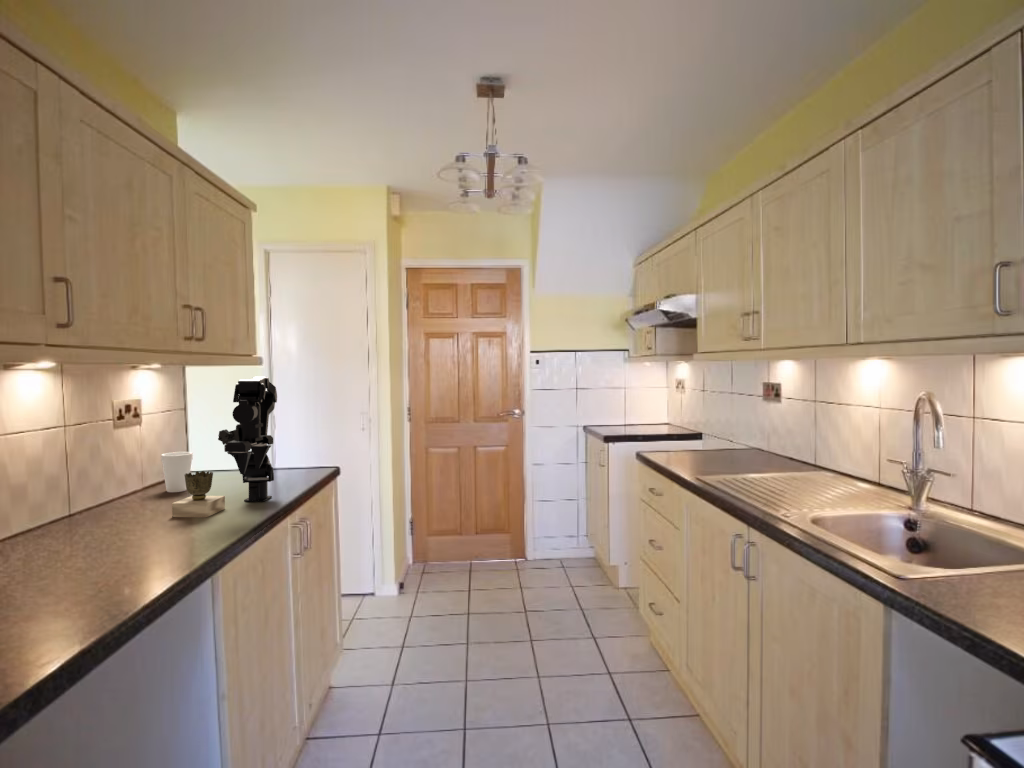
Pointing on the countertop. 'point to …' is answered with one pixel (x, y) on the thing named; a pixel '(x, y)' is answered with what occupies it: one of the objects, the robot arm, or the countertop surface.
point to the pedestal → (198, 506)
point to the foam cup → (176, 470)
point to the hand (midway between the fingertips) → (250, 471)
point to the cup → (198, 484)
